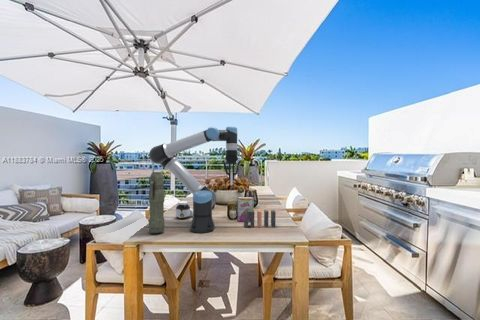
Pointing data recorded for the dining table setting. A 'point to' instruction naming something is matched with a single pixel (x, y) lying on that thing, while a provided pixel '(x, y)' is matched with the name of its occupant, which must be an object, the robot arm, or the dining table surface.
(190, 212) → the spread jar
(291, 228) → the dining table surface
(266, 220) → the domino
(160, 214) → the thermos
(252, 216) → the domino
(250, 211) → the domino
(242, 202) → the candy bar box
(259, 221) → the domino
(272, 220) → the domino
